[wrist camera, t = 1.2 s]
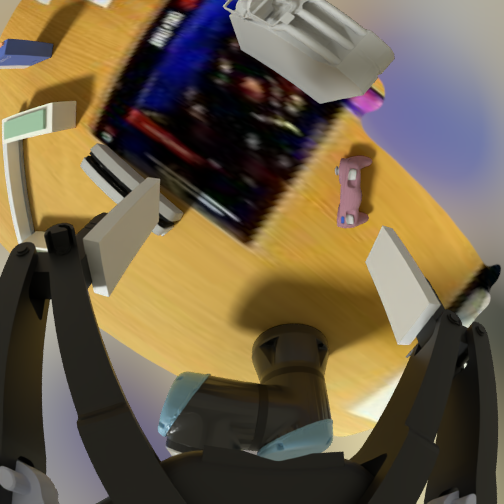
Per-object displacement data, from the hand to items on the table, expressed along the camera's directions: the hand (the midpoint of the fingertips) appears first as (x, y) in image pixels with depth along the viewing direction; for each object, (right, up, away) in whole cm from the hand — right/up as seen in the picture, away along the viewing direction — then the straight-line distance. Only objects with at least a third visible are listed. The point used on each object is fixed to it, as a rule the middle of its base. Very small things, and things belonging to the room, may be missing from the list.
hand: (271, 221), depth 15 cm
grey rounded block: (-18, +9, +22) cm, 30 cm away
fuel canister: (+3, +23, +13) cm, 27 cm away
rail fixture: (-38, +10, +22) cm, 45 cm away
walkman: (-38, +33, +10) cm, 51 cm away
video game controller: (+13, +8, +21) cm, 26 cm away
